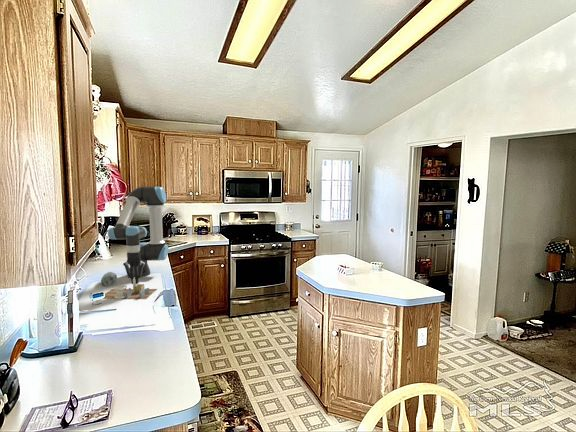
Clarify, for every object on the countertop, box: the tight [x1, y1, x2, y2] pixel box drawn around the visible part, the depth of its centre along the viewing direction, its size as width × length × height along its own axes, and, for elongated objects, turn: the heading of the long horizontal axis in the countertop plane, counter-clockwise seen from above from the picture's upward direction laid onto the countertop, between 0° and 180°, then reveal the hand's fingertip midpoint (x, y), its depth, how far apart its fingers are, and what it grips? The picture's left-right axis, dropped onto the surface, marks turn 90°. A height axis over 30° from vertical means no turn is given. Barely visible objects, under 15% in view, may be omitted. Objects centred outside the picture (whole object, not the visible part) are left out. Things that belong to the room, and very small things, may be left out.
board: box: [102, 288, 158, 300], centre depth 214 cm, size 18×29×1 cm, turn 90°
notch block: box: [125, 287, 150, 298], centre depth 210 cm, size 8×12×4 cm, turn 90°
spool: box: [100, 271, 118, 287], centre depth 235 cm, size 14×10×10 cm
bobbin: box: [113, 284, 128, 300], centre depth 208 cm, size 7×7×6 cm
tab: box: [134, 283, 145, 293], centre depth 217 cm, size 5×4×4 cm
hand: (135, 288), depth 217 cm, fingers closed
